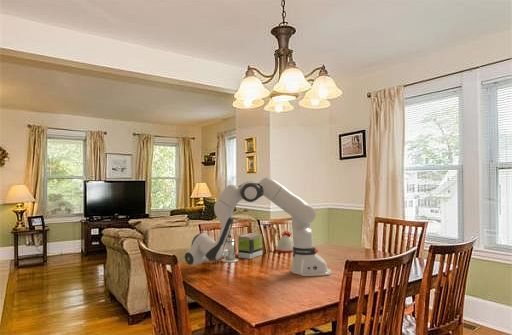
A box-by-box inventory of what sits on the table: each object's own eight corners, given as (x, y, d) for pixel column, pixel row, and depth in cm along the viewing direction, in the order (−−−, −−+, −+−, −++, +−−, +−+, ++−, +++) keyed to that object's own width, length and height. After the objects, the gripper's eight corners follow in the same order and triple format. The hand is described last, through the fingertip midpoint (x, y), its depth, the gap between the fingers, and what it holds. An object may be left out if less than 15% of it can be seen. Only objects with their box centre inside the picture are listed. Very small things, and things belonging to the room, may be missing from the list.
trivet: (239, 258, 228) (239, 257, 228) (237, 262, 217) (237, 261, 218) (223, 258, 229) (223, 257, 229) (220, 262, 218) (220, 261, 218)
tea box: (251, 253, 245) (251, 232, 246) (262, 255, 239) (262, 233, 240) (237, 257, 233) (237, 235, 234) (249, 259, 227) (249, 236, 228)
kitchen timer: (290, 253, 244) (289, 232, 245) (273, 251, 251) (273, 231, 252) (298, 250, 256) (298, 230, 256) (282, 248, 263) (282, 228, 264)
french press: (231, 260, 219) (231, 236, 220) (223, 259, 222) (223, 235, 223) (238, 258, 226) (238, 234, 227) (230, 257, 229) (230, 233, 230)
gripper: (220, 249, 197) (233, 245, 209) (193, 246, 207) (207, 242, 219) (220, 260, 197) (233, 256, 209) (192, 256, 207) (207, 252, 219)
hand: (219, 249), depth 214 cm, fingers open, 8 cm apart
